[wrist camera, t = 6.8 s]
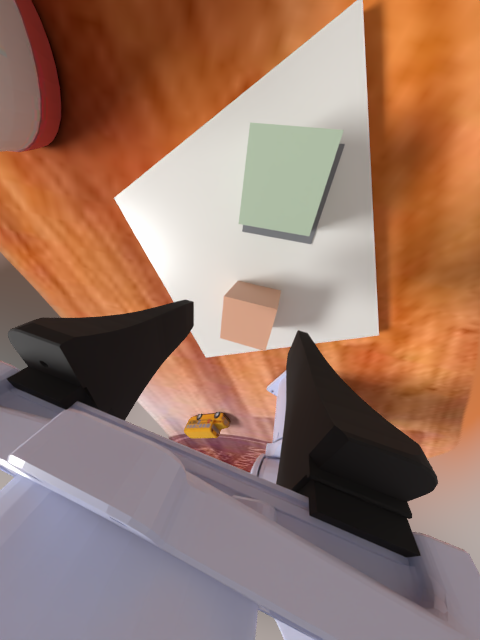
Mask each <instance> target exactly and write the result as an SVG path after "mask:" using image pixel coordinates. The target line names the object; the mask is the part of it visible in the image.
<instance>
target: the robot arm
mask: <svg viewBox="0 0 480 640" xmlns="http://www.w3.org/2000/svg"><path fill="white" fill-rule="evenodd" d="M193 326H194V302H193V301H189V300H181V301H177V302H173V303H170V304H166V305H162V306H159V307H155V308H151V309H147V310H143V311H138V312H133V313H127V314H120V315H111V316H102V317H86V318H39V319H36V320H33V321H31V322H28V323H25V324H23V325H20V326H18V327H15V328H12V329H11V330H10V331H9V332H8V338H9V340H10V342H11V344H12V345H13V347H14V348H15V350H16V351H17V352H18V353H19V355H20V356H21V357H22V359H23V360H24V361H25V363H26V364H27V365H28V367H27V368H25V369H23V370H21V371H20V370H19V369H17V368H16V367H14V366H12V365H10V364H7V363H5V362H2V361H0V470H2V471H4V472H6V473H7V474H9V475H11V476H13V477H14V478H13V479H12V480H11V481H10V482H9V483H8V484H7V485H6V486H4V487H3V488H2V489H1V490H0V640H255V634H256V623H257V613H258V610H260V611H262V612H264V613H265V614H267V615H269V616H271V617H273V618H275V620H276V623H277V624H278V627H279V629H280V631H281V633H282V636H283V638H284V640H480V574H479V572H478V571H477V568H476V566H475V565H474V563H473V561H472V559H471V557H470V555H469V554H468V553H467V552H466V551H465V550H463V549H460V548H458V547H456V546H453V545H451V544H448V543H446V542H443V541H441V540H438V539H436V538H434V537H431V536H428V535H425V534H422V533H416V532H412V531H411V528H410V525H409V523H408V520H407V518H408V519H410V518H412V513H411V511H410V508H409V505H408V503H407V501H410V500H413V499H415V498H418V497H421V496H423V495H426V494H428V493H430V492H431V491H433V490H434V489H435V487H436V485H437V484H438V480H437V476H436V474H435V472H434V471H433V469H432V467H431V465H430V463H429V461H428V460H427V458H426V456H425V454H424V452H423V451H422V449H421V447H420V445H419V444H417V443H416V442H415V441H413V440H412V439H411V438H409V437H408V436H407V435H405V434H404V433H403V432H401V431H400V430H399V429H397V428H396V427H395V426H393V425H392V424H391V423H389V422H388V421H387V420H386V419H384V418H383V417H382V416H381V415H380V414H378V413H377V412H376V411H375V410H374V409H372V408H371V407H370V406H369V405H368V404H367V403H366V402H364V401H363V400H362V399H361V398H360V397H359V396H358V395H357V394H356V393H355V392H354V391H353V390H352V389H351V388H350V387H349V386H348V385H347V384H346V383H345V382H344V381H343V380H342V379H341V378H340V377H339V376H338V374H337V373H336V372H335V371H334V370H333V369H332V367H331V366H330V365H329V363H328V362H327V361H326V360H325V358H324V357H323V355H322V354H321V353H320V351H319V350H318V348H317V347H316V345H315V343H314V342H313V340H312V339H311V337H310V336H309V334H308V333H306V332H303V331H299V330H298V331H297V333H296V336H295V338H294V341H293V343H292V345H291V348H290V350H289V353H288V358H287V365H286V371H285V372H283V373H282V374H281V375H280V376H279V377H278V378H276V379H275V380H274V381H273V382H272V383H271V384H270V385H268V386H267V390H268V391H269V392H271V393H272V394H274V395H276V396H277V403H276V413H275V423H274V433H273V443H267V446H266V454H261V455H259V456H258V458H257V459H256V461H255V463H254V465H253V467H252V469H251V472H250V473H248V472H246V471H244V470H241V469H239V468H237V467H234V466H232V465H229V464H227V463H225V462H222V461H220V460H217V459H215V458H213V457H210V456H208V455H205V454H203V453H201V452H198V451H196V450H193V449H191V448H189V447H186V446H184V445H182V444H179V443H177V442H174V441H172V440H170V439H167V438H165V437H162V436H160V435H157V434H155V433H153V432H150V431H148V430H146V429H143V428H141V427H138V426H136V425H134V424H131V423H129V422H127V421H125V419H126V417H127V416H128V414H129V412H130V411H131V409H132V407H133V406H134V404H135V402H136V401H137V399H138V398H139V396H140V395H141V393H142V392H143V390H144V388H145V387H146V386H147V384H148V383H149V381H150V380H151V378H152V377H153V375H154V374H155V373H156V371H157V370H158V369H159V367H160V366H161V365H162V363H163V362H164V361H165V360H166V359H167V357H168V356H169V355H170V354H171V353H172V352H173V351H174V350H175V349H176V348H177V347H178V346H179V344H180V343H181V342H182V341H183V340H184V339H185V338H186V337H187V335H188V334H189V332H190V331H191V329H192V328H193Z"/></svg>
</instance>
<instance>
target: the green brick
mask: <svg viewBox="0 0 480 640" xmlns="http://www.w3.org/2000/svg"><path fill="white" fill-rule="evenodd" d="M343 131H344V130H338V129H325V128H313V127H300V126H288V125H275V124H262V123H250V128H249V137H248V146H247V155H246V163H245V172H244V181H243V189H242V198H241V207H240V216H239V224H242V225H247V226H253V227H259V228H264V229H270V230H276V231H281V232H287V233H293V234H298V235H304V236H310V233H311V229H312V226H313V223H314V220H315V217H316V214H317V211H318V208H319V205H320V202H321V199H322V196H323V192H324V189H325V186H326V183H327V180H328V177H329V174H330V171H331V168H332V165H333V162H334V159H335V155H336V152H337V149H338V146H339V143H340V140H341V137H342V134H343Z"/></svg>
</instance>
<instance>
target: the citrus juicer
mask: <svg viewBox="0 0 480 640" xmlns="http://www.w3.org/2000/svg"><path fill="white" fill-rule="evenodd" d="M60 121H61V97H60V86H59V81H58V76H57V70H56V66H55V62H54V58H53V55H52V51H51V48H50V44H49V41H48V39H47V36H46V33H45V31H44V28H43V25H42V23H41V20H40V18H39V15H38V13H37V11H36V9H35V7H34V5H33V3H32V1H31V0H0V151H15V152H22V151H28V150H33V149H37V148H41V147H44V146H47V145H48V144H50V143H51V142H52V141H53V140H54V138H55V136H56V134H57V132H58V129H59V124H60Z"/></svg>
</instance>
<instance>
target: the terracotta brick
mask: <svg viewBox="0 0 480 640" xmlns="http://www.w3.org/2000/svg"><path fill="white" fill-rule="evenodd" d="M280 294H281V290H277V289H272V288H268V287H264V286H259V285H255V284H251V283H246V282H242V281H237V282H236V283H235V284H234V285H233V287H232V288H231V289H230V290H229V291H228V292H227V293H226V294H225V295H224V300H223V311H222V321H221V332H220V338H221V339H225V340H228V341H232V342H235V343H239V344H242V345H245V346H249V347H252V348H256V349H259V350H263V351H265V350H266V347H267V344H268V340H269V337H270V334H271V330H272V327H273V323H274V320H275V317H276V313H277V310H278V305H279V299H280Z"/></svg>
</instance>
